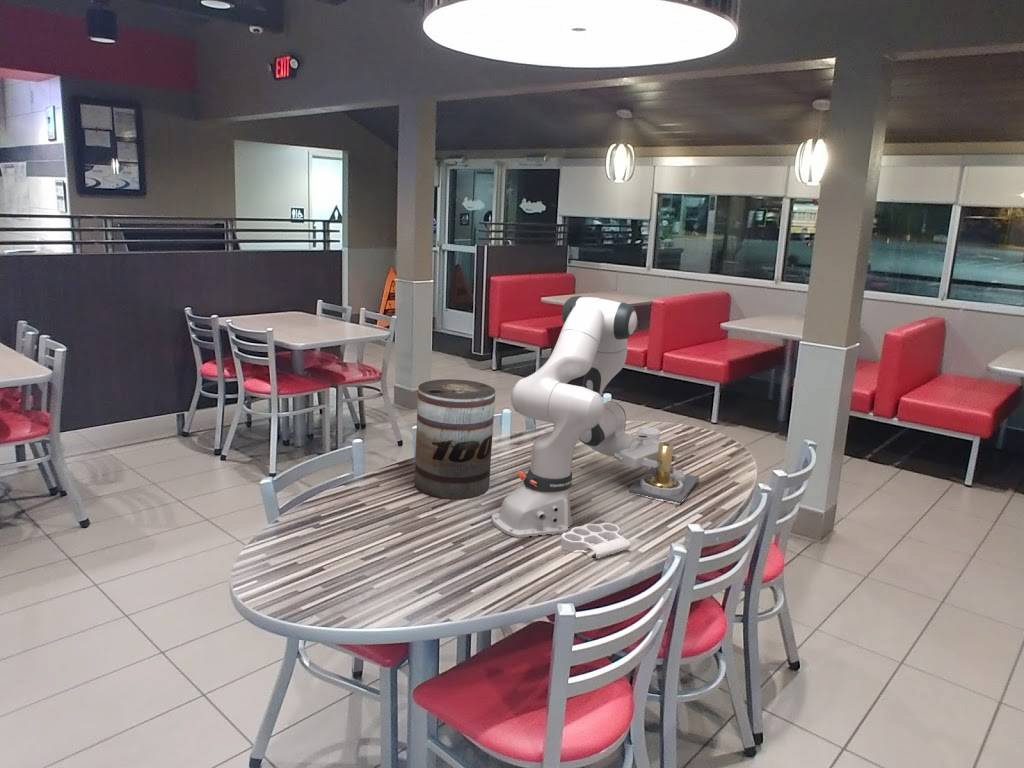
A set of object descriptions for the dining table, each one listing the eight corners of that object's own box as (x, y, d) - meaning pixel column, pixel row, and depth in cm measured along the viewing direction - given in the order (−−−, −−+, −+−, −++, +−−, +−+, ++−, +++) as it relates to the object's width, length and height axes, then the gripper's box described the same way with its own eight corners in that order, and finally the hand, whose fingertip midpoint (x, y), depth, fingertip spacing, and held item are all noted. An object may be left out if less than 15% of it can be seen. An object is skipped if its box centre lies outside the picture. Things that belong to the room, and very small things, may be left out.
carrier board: (679, 505, 225) (682, 488, 223) (628, 493, 231) (630, 476, 230) (698, 481, 246) (700, 465, 244) (651, 470, 252) (653, 455, 251)
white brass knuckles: (586, 565, 185) (549, 541, 196) (638, 550, 195) (601, 528, 207) (587, 553, 184) (550, 529, 195) (640, 538, 194) (602, 516, 206)
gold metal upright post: (659, 494, 228) (665, 450, 225) (641, 484, 235) (646, 441, 232) (680, 490, 233) (686, 447, 229) (661, 480, 240) (667, 438, 236)
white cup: (631, 458, 263) (634, 430, 261) (638, 452, 270) (641, 425, 268) (653, 463, 260) (656, 435, 257) (659, 457, 267) (663, 430, 264)
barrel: (465, 506, 213) (471, 404, 206) (399, 487, 223) (402, 389, 215) (502, 482, 233) (508, 388, 225) (440, 466, 242) (444, 375, 235)
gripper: (611, 445, 232) (648, 458, 223) (649, 434, 247) (685, 446, 237) (608, 465, 234) (645, 478, 225) (647, 452, 248) (683, 465, 239)
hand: (666, 461), depth 231 cm, fingers open, 8 cm apart
